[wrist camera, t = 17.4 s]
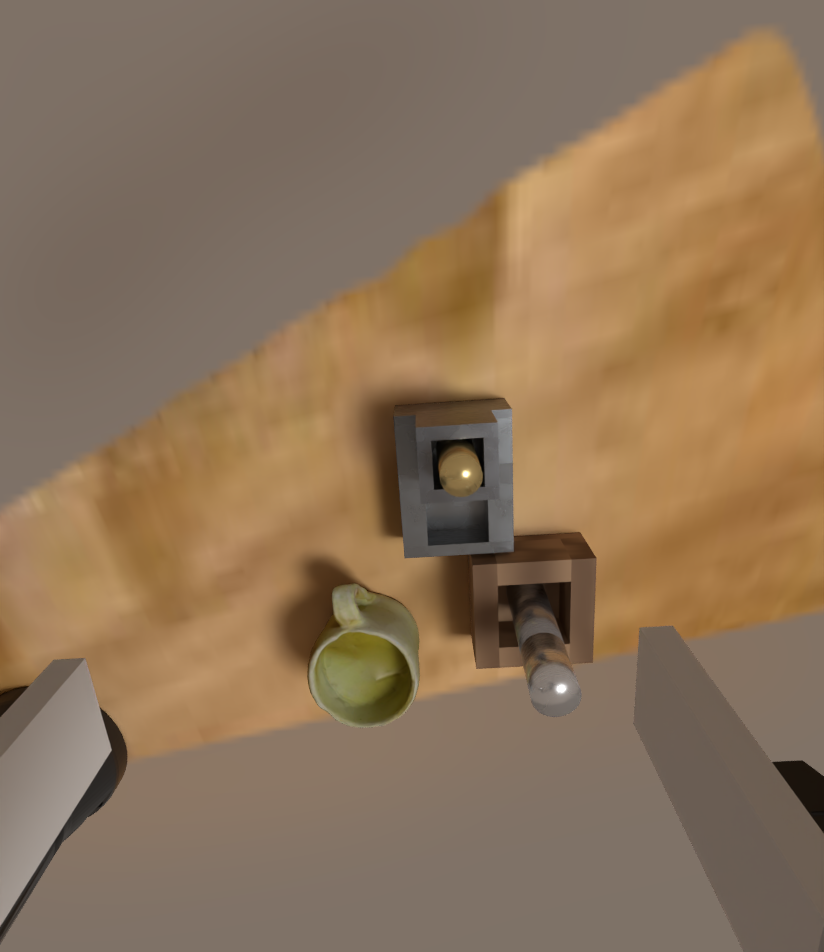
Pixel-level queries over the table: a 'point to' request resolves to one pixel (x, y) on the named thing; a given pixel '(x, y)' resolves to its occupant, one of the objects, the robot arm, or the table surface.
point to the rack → (533, 561)
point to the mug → (365, 659)
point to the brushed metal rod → (543, 651)
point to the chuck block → (427, 503)
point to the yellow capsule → (458, 467)
